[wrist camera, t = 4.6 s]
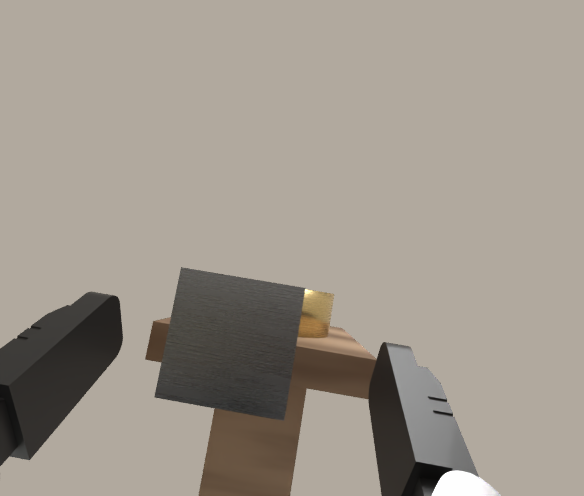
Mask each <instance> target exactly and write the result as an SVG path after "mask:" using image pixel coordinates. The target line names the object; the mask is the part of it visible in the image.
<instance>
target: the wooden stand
mask: <svg viewBox="0 0 584 496" xmlns="http://www.w3.org/2000/svg"><path fill="white" fill-rule="evenodd" d="M170 319H171V317H170V318H165V319H161V320H157V321H153V326H152V330H151V334H150V340H149V344H148V349H147V354H146V360H151V361H157V362H162V358H163V353H164V349H165V344H166V339H167V334H168V329H169V324H170ZM376 360H377V359H376V358H375V357H373V356H372V355H371V354H370V353H369V352H368V351H367V350H366V349H365V348H363V347H362V346H361V345H360V344H359V343H358V342H357V341H356V340H355V339H353V338H352V337H351V336H350V335H349V334H348V333H347V332H345V330H343V329H342V328H337V327H331V326H329V332H328V337H325V338H302V337H298V338H297V344H296V350H295V357H294V363H293V369H292V375H291V382H290V388H289V394H288V400H287V407H286V413H285V419H284V421H282V420H276V419H271V418H265V417H260V416H254V415H249V414H243V413H238V412H232V411H227V410H221V409H216V408H215V409H214V415H213V420H212V426H211V431H210V437H209V442H208V447H207V453H206V458H205V464H204V469H203V475H202V481H201V485H200V491H199V496H290V491H291V485H292V479H293V472H294V466H295V459H296V453H297V446H298V440H299V433H300V427H301V421H302V414H303V408H304V401H305V395H306V388H308V389H314V390H319V391H325V392H330V393H336V394H342V395H347V396H353V397H359V398H365V399H369V385H370V380H371V377H372V374H373V370H374V367H375V364H376Z"/></svg>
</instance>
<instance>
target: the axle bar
mask: <svg viewBox="0 0 584 496" xmlns="http://www.w3.org/2000/svg"><path fill="white" fill-rule="evenodd" d="M333 299H334V294H330V293H324V292H318V291H312V290H307V289H305V288H301V287H295V286H289V285H283V284H277V283H271V282H265V281H259V280H253V279H247V278H241V277H236V276H230V275H223V274H218V273H211V272H205V271H200V270H194V269H188V268H182V267H181V271H180V276H179V281H178V285H177V290H176V295H175V300H174V305H173V310H172V315H171V319H170V324H169V329H168V334H167V339H166V344H165V349H164V353H163V358H162V363H161V368H160V373H159V378H158V383H157V387H156V392H155V397H156V398H161V399H167V400H172V401H178V402H183V403H189V404H194V405H200V406H205V407H211V408H216V409H221V410H227V411H232V412H238V413H243V414H249V415H254V416H260V417H265V418H271V419H276V420H282V421H284V419H285V413H286V407H287V400H288V394H289V388H290V382H291V375H292V369H293V363H294V357H295V350H296V344H297V338H298V337H302V338H325V337H328V332H329V325H330V319H331V312H332V305H333Z"/></svg>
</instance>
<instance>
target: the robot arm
mask: <svg viewBox="0 0 584 496" xmlns="http://www.w3.org/2000/svg"><path fill="white" fill-rule="evenodd" d="M122 341H123V334H122V322H121V311H120V301H119V299H118V297H116V296H113V295H108V294H101V293H96V292H88V293H86V294H85V295H84V296H82V297H81V298H80V299H78V300H77V301H76V302H74V303H73V304H72V305H71V306H69V305H67V306H65V307H62V308H60V309H57V310H55V311H53V312H51V313H48V314H47V315H45V316H44V317H42V318H41V319H40V320H38V321H37V322H36V323H34V324H33V325H32V326H31V328H30V329H29V328H28V329H26V330H25V331H24V332H22V333H21V334H20V335H18V337H17V339H13V340H12V341H10V342H9V343H7V344H6V345H5V346H4V347H2V348H1V349H0V466H1V465H2V464H3V463H4V461H5V460H6V459H7V458H8V457H9V456H11V457H16V458H21V459H27V460H30V459H31V458H32V457H33V455H34V454H35V453H36V452H37V451H38V450H39V448H40V447H41V446H42V445H43V443H44V442H45V441H46V440H47V439H48V438H49V436H50V435H51V434H52V433H53V432H54V430H55V429H56V428H57V427H58V426H59V425H60V423H61V422H62V421H63V420H64V419H65V417H66V416H67V415H68V414H69V413H70V411H71V410H72V409H73V408H74V407H75V406H76V404H77V403H78V402H79V401H80V399H81V398H82V397H83V396H84V395H85V394H86V392H87V391H88V390H89V389H90V388H91V386H92V385H93V384H94V383H95V382H96V381H97V379H98V378H99V377H100V376H101V375H102V373H103V372H104V371H105V370H106V369H107V367H108V366H109V365H110V364H111V363H112V361H113V360H114V359H115V358H116V356H117V355H118V353H119V351H120V348H121V345H122ZM369 409H370V415H371V422H372V430H373V437H374V444H375V451H376V458H377V465H378V472H379V479H380V486H381V494H382V496H501V495H500V494H499V493H498V492H497V491H496V490H495V489H494V488H493V487H492V486H490V485H489V484H488V483H486V482H485V481H484V480H482V479H481V478H479V476H478V474H477V471H476V469H475V466H474V464H473V461H472V459H471V456H470V454H469V452H468V449H467V447H466V444H465V442H464V439H463V437H462V435H461V432H460V430H459V427H458V425H457V422H456V420H455V418H454V417H453V413H452V410H451V408H450V405H449V403H447V398H446V396H445V393H444V391H443V388H442V386H441V383H440V382H439V381H438V380H437V379H436V377H435V376H434V375H433V374H432V373H431V372H430V370H429V369H428V368H425V367H420V366H417V363H416V360H415V358H414V355H413V352H412V349H411V348H410V347H409V346H404V345H398V344H392V343H386V342H384V343H383V344H382V345H381V347H380V351H379V354H378V357H377V360H376V364H375V367H374V370H373V374H372V377H371V380H370V385H369Z"/></svg>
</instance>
